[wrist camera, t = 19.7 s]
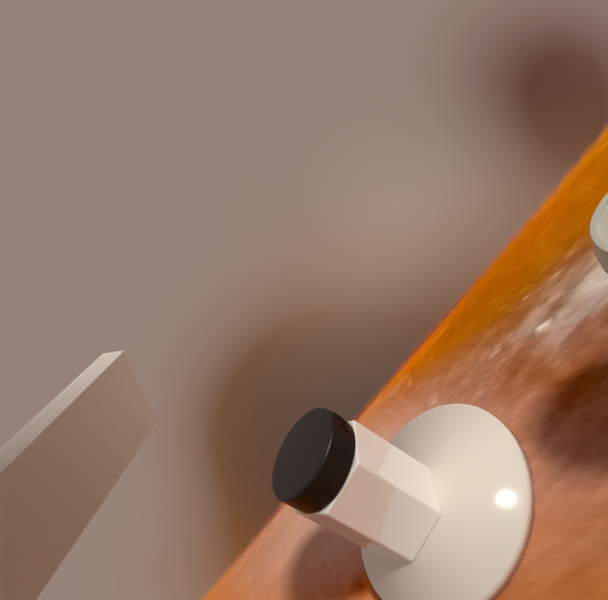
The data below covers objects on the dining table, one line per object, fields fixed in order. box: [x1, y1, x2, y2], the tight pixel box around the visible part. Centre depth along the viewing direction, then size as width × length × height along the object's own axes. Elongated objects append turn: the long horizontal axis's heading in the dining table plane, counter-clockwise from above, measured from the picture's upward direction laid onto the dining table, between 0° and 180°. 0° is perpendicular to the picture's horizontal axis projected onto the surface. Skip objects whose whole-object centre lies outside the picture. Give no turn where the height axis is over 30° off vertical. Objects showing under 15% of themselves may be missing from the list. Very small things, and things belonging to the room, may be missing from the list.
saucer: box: [360, 404, 535, 600], centre depth 37 cm, size 18×18×1 cm
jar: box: [272, 408, 441, 562], centre depth 37 cm, size 9×8×12 cm
